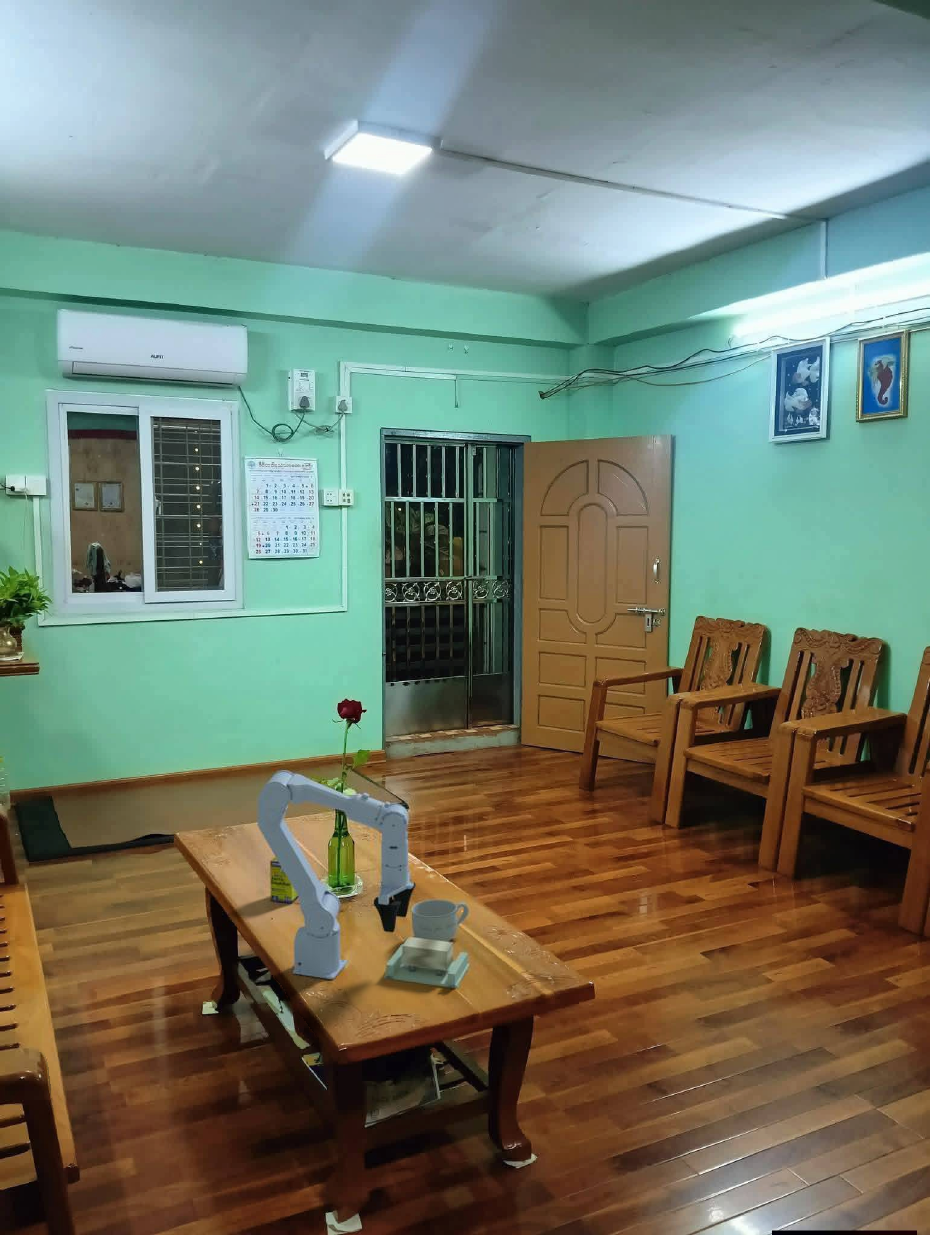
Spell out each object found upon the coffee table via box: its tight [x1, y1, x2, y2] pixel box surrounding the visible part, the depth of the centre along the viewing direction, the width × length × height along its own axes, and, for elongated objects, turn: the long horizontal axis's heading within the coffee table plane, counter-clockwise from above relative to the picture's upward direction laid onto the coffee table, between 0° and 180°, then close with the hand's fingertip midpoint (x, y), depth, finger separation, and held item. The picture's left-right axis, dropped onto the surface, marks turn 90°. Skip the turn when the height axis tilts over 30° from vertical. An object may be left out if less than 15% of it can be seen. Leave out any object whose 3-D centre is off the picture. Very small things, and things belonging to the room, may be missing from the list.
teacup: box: [410, 898, 470, 942], centre depth 217 cm, size 14×11×8 cm
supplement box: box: [269, 856, 299, 905], centre depth 239 cm, size 6×6×11 cm
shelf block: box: [401, 936, 454, 971], centre depth 201 cm, size 10×4×4 cm, turn 74°
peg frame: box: [383, 943, 471, 989], centre depth 201 cm, size 16×10×3 cm, turn 74°
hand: (395, 923), depth 201 cm, fingers open, 7 cm apart
